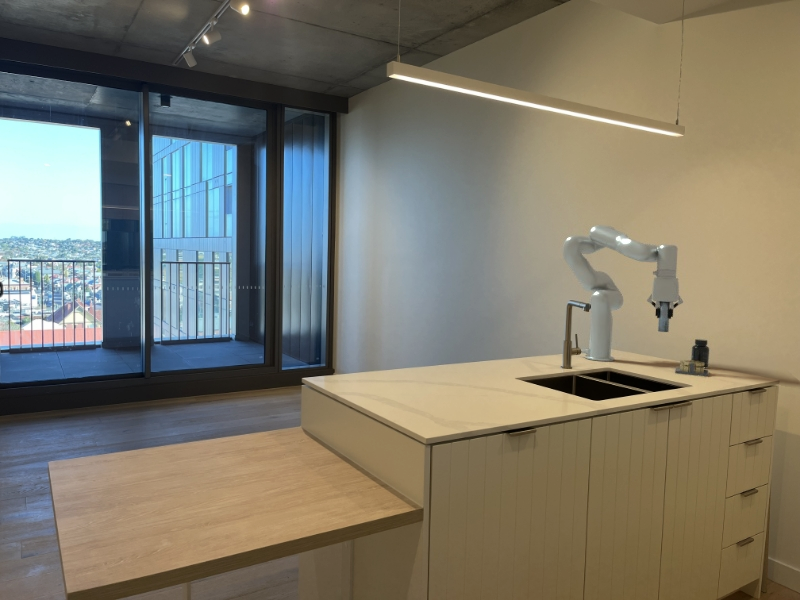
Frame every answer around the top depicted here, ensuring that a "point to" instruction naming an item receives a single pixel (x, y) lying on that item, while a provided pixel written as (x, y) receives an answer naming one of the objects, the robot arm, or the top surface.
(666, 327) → the steel tube
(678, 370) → the firebox
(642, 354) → the top surface
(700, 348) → the supplement bottle
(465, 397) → the top surface
